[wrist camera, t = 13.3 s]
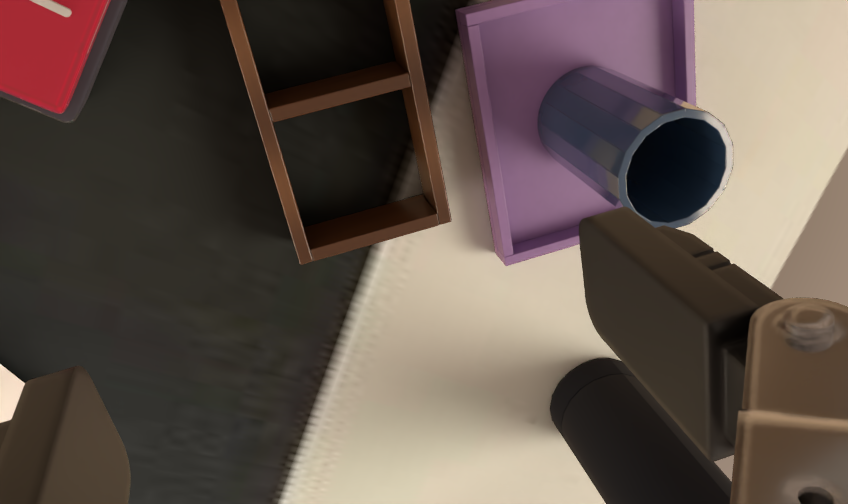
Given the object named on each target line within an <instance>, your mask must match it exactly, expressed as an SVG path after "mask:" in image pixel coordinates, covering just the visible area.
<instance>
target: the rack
mask: <svg viewBox="0 0 848 504" xmlns="http://www.w3.org/2000/svg"><path fill="white" fill-rule="evenodd" d="M383 1H384V6H385V11H386V16H387V21H388V25H389V30H390V35H391V40H392V45H393V50H394V54H395V59H396V61H393V62H389V63H385V64H381V65H377V66H373V67H369V68H365V69H361V70H357V71H353V72H349V73H345V74H342V75H338V76H334V77H330V78H326V79H322V80H318V81H314V82H310V83H306V84H302V85H298V86H294V87H290V88H287V89H283V90H279V91H275V92H271V93H267V94H264V91H263V87H262V84H261V80H260V77H259V74H258V70H257V67H256V63H255V60H254V57H253V53H252V50H251V46H250V43H249V40H248V36H247V33H246V29H245V26H244V23H243V19H242V16H241V12H240V9H239V6H238V2H237V0H220V4H221V7H222V10H223V13H224V17H225V20H226V23H227V27H228V30H229V33H230V36H231V40H232V43H233V46H234V50H235V53H236V56H237V59H238V63H239V66H240V69H241V73H242V76H243V79H244V82H245V86H246V89H247V92H248V96H249V99H250V102H251V105H252V109H253V112H254V115H255V119H256V122H257V125H258V128H259V132H260V135H261V138H262V142H263V145H264V148H265V151H266V155H267V158H268V161H269V165H270V168H271V171H272V174H273V178H274V181H275V184H276V188H277V191H278V194H279V197H280V201H281V204H282V207H283V211H284V214H285V217H286V220H287V224H288V227H289V230H290V234H291V237H292V240H293V243H294V247H295V250H296V253H297V257H298V260H299V263H300V264H305V263H308V262H312V261H316V260H320V259H323V258H327V257H330V256H334V255H337V254H340V253H344V252H347V251H351V250H354V249H358V248H361V247H365V246H368V245H372V244H375V243H379V242H382V241H386V240H389V239H393V238H396V237H400V236H403V235H407V234H410V233H414V232H417V231H421V230H424V229H428V228H431V227H434V226H438V225H439V224H444V223H448V222H451V220H452V219H451V214H450V209H449V204H448V199H447V193H446V188H445V183H444V178H443V173H442V167H441V162H440V157H439V152H438V147H437V141H436V136H435V131H434V126H433V121H432V115H431V110H430V105H429V100H428V95H427V89H426V84H425V79H424V74H423V69H422V63H421V58H420V53H419V48H418V42H417V37H416V32H415V27H414V22H413V16H412V11H411V6H410V1H409V0H383ZM400 89H402V93H403V98H404V103H405V107H406V112H407V117H408V122H409V127H410V131H411V136H412V141H413V146H414V151H415V156H416V160H417V165H418V170H419V175H420V180H421V184H422V189H423V194H424V195H423V194H421V195H418V196H414V197H411V198H407V199H403V200H400V201H396V202H393V203H389V204H386V205H382V206H379V207H375V208H371V209H368V210H364V211H361V212H357V213H354V214H350V215H346V216H343V217H339V218H336V219H332V220H329V221H325V222H321V223H318V224H314V225H311V226H307V227H303V223H302V220H301V216H300V213H299V210H298V206H297V203H296V199H295V196H294V193H293V189H292V186H291V182H290V179H289V176H288V172H287V169H286V165H285V162H284V159H283V155H282V152H281V148H280V145H279V142H278V138H277V135H276V131H275V128H274V125H273V122H277V121H281V120H285V119H289V118H293V117H296V116H300V115H304V114H308V113H312V112H316V111H319V110H323V109H327V108H331V107H335V106H339V105H343V104H346V103H350V102H354V101H358V100H362V99H366V98H369V97H373V96H377V95H381V94H385V93H389V92H393V91H396V90H400Z"/></svg>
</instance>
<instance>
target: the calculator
mask: <svg viewBox="0 0 848 504" xmlns="http://www.w3.org/2000/svg"><path fill="white" fill-rule="evenodd" d="M127 1H128V0H0V97H2V98H5V99H7V100H10V101H12V102H14V103H17V104H19V105H22V106H24V107H27V108H29V109H31V110H34V111H36V112H39V113H41V114H44V115H46V116H48V117H51V118H53V119H56V120H58V121H61V122H64V123H71V122H74V121H75V120H76V119H77V117H78V116H79V114H80V112H81V110H82V109H83V107H84V105H85V103H86V101H87V99H88V97H89V94H90V92H91V89H92V87H93V85H94V82H95V80H96V77H97V75H98V72H99V70H100V67H101V65H102V62H103V60H104V58H105V55H106V53H107V50H108V48H109V45H110V43H111V40H112V38H113V35H114V33H115V31H116V28H117V26H118V23H119V21H120V18H121V16H122V13H123V11H124V8H125V6H126V4H127Z"/></svg>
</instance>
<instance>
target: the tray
mask: <svg viewBox="0 0 848 504" xmlns="http://www.w3.org/2000/svg"><path fill="white" fill-rule="evenodd" d="M455 12H456V18H457V24H458V30H459V36H460V42H461V48H462V54H463V60H464V66H465V72H466V78H467V84H468V90H469V96H470V102H471V109H472V115H473V121H474V127H475V133H476V139H477V145H478V151H479V157H480V163H481V169H482V175H483V181H484V187H485V193H486V199H487V205H488V211H489V217H490V223H491V229H492V235H493V241H494V247H495V253H496V254H497V256H498V257H499V258H500V259H501V261H502V262H503V263H504V264H505V266H508V265H511V264H514V263H518V262H521V261H525V260H528V259H531V258H535V257H538V256H541V255H545V254H548V253H551V252H555V251H558V250H561V249H565V248H568V247H571V246H575V245H578V244H580V241H579V224H580V221H581V220H582V219H583V218H586V217H590V216H593V215H597V214H600V213H603V212H607V211H610V210H614V209H617V208H616V207H615V206H614V205H613V204H611V203H610V202H609V201H607V200H606V199H605V198H604V197H602V196H601V195H600V194H598V193H597V192H596V191H595V190H593V189H592V188H591V187H589V186H588V185H587V184H586V183H584V182H583V181H582V180H580V179H579V178H578V177H577V176H575V175H574V174H573V173H571V172H570V171H569V170H568V169H566V168H565V167H564V166H562V165H561V164H560V163H559V162H557V161H556V160H555V159H553V158H552V156H551V155H550V154H549V153H548V152H547V151H546V150H545V148H544V147H543V145H542V143H541V140H540V137H539V133H538V124H537V122H538V113H539V109H540V106H541V103H542V100H543V98H544V96H545V95H546V93H547V91H548V90H549V89H550V87H551V86H552V85H553V84H554V83H555V82H556V81H557V80H558V79H559V78H560V77H561V76H563V75H564V74H566V73H567V72H569V71H571V70H573V69H576V68H579V67H583V66H591V65H594V66H602V67H605V68H608V69H612V70H615V71H617V72H619V73H621V74H624V75H626V76H628V77H631V78H633V79H635V80H637V81H640V82H642V83H644V84H646V85H649V86H651V87H653V88H655V89H658V90H660V91H662V92H664V93H667V94H669V95H671V96H673V97H676V98H678V99H680V100H682V101H685V102H687V103H689V104H691V105H694V106H696V77H695V36H694V0H491V1H487V2H483V3H479V4H475V5H471V6H467V7H463V8H459V9H456V10H455Z"/></svg>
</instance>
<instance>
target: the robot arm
mask: <svg viewBox="0 0 848 504" xmlns="http://www.w3.org/2000/svg"><path fill="white" fill-rule="evenodd" d="M579 241H580V251H581V260H582V269H583V279H584V288H585V297H586V304H587V308H588V312H589V315H590V318H591V320H592V323H593V325H594V327H595V329H596V331H597V332H598V334H599V335H600V336H601V338H602V339H603V340H604V341H605V342H606V343H607V345H608V346H609V347H610V348H611V349H612V350H613V351H614V353H615V354H616V355H617V356H618V357H619V358H620V359H621V361H622V362H623V363H624V364H625V365H626V366H627V367H628V368H629V370H630V371H631V372H632V373H633V374H634V375H635V376H636V378H637V379H638V380H639V381H640V382H641V383H642V384H643V386H644V387H645V388H646V389H647V390H648V391H649V392H650V394H651V395H652V396H653V397H654V398H655V399H656V400H657V402H658V403H659V404H660V405H661V406H662V407H663V408H664V410H665V411H666V412H667V413H668V414H669V415H670V416H671V418H672V419H673V420H674V421H675V422H676V423H677V424H678V425H679V427H680V428H681V429H682V430H683V431H684V432H685V433H686V435H687V436H688V437H689V438H690V439H691V440H692V441H693V443H694V444H695V445H696V446H697V447H698V448H699V449H700V451H701V452H702V453H703V454H704V455H705V456H706V457H707V459H708V460H709V461H710V462H714V461H717V460H720V459H723V458H726V457H728V456H731V455H734V464H733V476H732V485H731V496H730V504H848V307H847V306H844V305H841V304H839V303H836V302H832V301H829V300H823V299H818V298H788V299H783V298H782V297H780V296H779V295H778V294H776V293H775V292H773V291H772V290H771V289H769V288H768V287H766V286H765V285H764V284H762V283H761V282H759V281H758V280H757V279H755V278H754V277H752V276H751V275H750V274H748V273H747V272H745V271H744V270H742V269H741V268H740V267H738V266H737V265H735V264H731V263H730V260H728V259H727V258H726V257H724V256H723V255H721V254H720V253H719V252H714V251H713V248H712V247H710V246H709V245H707V244H706V243H704V242H703V241H702V240H700V239H699V238H697V237H696V236H695V235H693V234H690V233H687V232H684V231H681V230H678V229H674V228H671V227H668V226H665V225H663V226H660V227H656V228H655V227H653V226H652V225H651V224H650V223H648V222H647V221H646V220H644V219H643V218H642V217H640V216H639V215H638V214H636V213H635V212H634V211H632V210H631V209H630V208H628V207H620V208H617V209H614V210H610V211H607V212H603V213H600V214H597V215H593V216H590V217H586V218H583V219H582V220H581V221H580V224H579ZM130 484H131V474H130V466H129V461H128V457H127V453H126V450H125V447H124V445H123V442H122V440H121V438H120V436H119V434H118V432H117V430H116V428H115V426H114V424H113V422H112V420H111V418H110V416H109V414H108V412H107V410H106V408H105V405H104V403H103V401H102V399H101V397H100V395H99V393H98V391H97V389H96V387H95V385H94V383H93V381H92V379H91V377H90V375H89V374H88V372H87V371H86V370H85V369H84V368H83V367H81V366H75V367H72V368H69V369H65V370H62V371H58V372H55V373H52V374H48V375H45V376H41V377H38V378H35V379H31V380H28V381H27V382H26V383H25V385H24V387H23V390H22V393H21V395H20V398H19V401H18V403H17V406H16V409H15V411H14V414H13V417H12V419H11V420H8V421H5V422H2V423H0V504H128V500H129V492H130Z"/></svg>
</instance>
